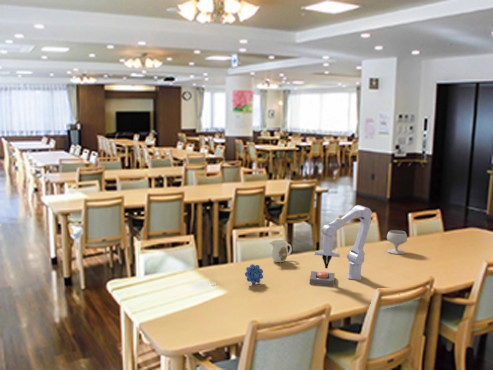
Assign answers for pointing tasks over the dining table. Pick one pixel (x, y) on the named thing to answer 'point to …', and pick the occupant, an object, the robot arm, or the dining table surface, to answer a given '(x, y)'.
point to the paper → (213, 285)
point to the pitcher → (280, 250)
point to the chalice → (396, 240)
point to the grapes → (254, 274)
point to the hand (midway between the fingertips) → (326, 267)
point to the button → (322, 275)
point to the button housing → (322, 279)
